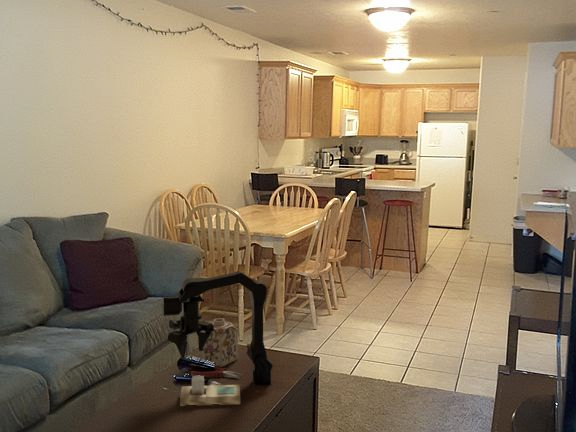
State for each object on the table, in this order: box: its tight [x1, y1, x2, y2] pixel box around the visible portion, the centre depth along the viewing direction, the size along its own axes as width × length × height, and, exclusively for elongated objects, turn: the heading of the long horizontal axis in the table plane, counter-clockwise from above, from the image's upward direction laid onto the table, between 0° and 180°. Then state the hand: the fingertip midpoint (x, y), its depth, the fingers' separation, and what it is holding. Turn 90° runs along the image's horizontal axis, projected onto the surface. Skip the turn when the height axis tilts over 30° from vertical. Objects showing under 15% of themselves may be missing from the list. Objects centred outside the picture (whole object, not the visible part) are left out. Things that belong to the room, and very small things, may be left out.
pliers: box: [189, 366, 244, 379], centre depth 244 cm, size 12×20×3 cm, turn 72°
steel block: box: [191, 376, 205, 395], centre depth 220 cm, size 4×4×8 cm
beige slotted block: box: [179, 384, 241, 407], centre depth 221 cm, size 21×10×3 cm, turn 96°
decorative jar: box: [199, 317, 239, 368], centre depth 258 cm, size 12×12×18 cm
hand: (191, 354), depth 227 cm, fingers open, 9 cm apart
